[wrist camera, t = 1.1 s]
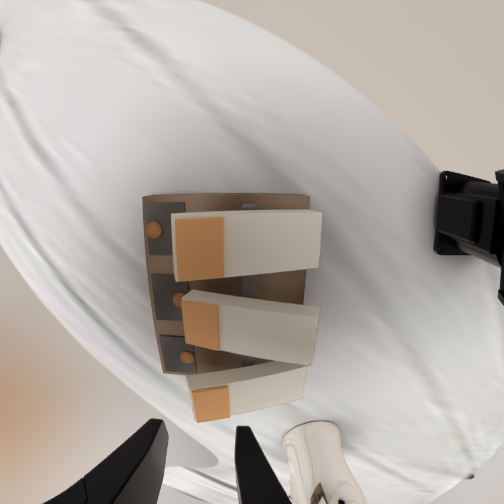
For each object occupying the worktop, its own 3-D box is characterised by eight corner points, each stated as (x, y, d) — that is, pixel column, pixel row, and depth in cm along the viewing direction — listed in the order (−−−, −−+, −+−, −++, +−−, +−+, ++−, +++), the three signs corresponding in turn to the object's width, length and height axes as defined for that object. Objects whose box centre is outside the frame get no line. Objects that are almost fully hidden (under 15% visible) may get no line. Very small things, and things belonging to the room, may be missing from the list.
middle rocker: (320, 306, 13) (317, 320, 12) (314, 352, 14) (310, 368, 13) (192, 289, 15) (179, 299, 14) (195, 332, 16) (184, 344, 15)
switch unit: (304, 194, 17) (320, 199, 13) (292, 365, 21) (300, 399, 17) (150, 195, 17) (125, 200, 13) (167, 362, 20) (154, 394, 17)
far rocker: (298, 355, 16) (309, 368, 15) (294, 387, 17) (303, 400, 16) (186, 375, 14) (189, 391, 13) (191, 407, 15) (195, 424, 14)
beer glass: (331, 408, 22) (372, 545, 8) (351, 438, 24) (386, 548, 9) (265, 434, 23) (273, 568, 8) (294, 460, 24) (308, 570, 10)
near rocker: (310, 209, 14) (324, 212, 13) (307, 261, 15) (321, 269, 14) (170, 213, 12) (172, 217, 11) (174, 273, 13) (176, 283, 11)
